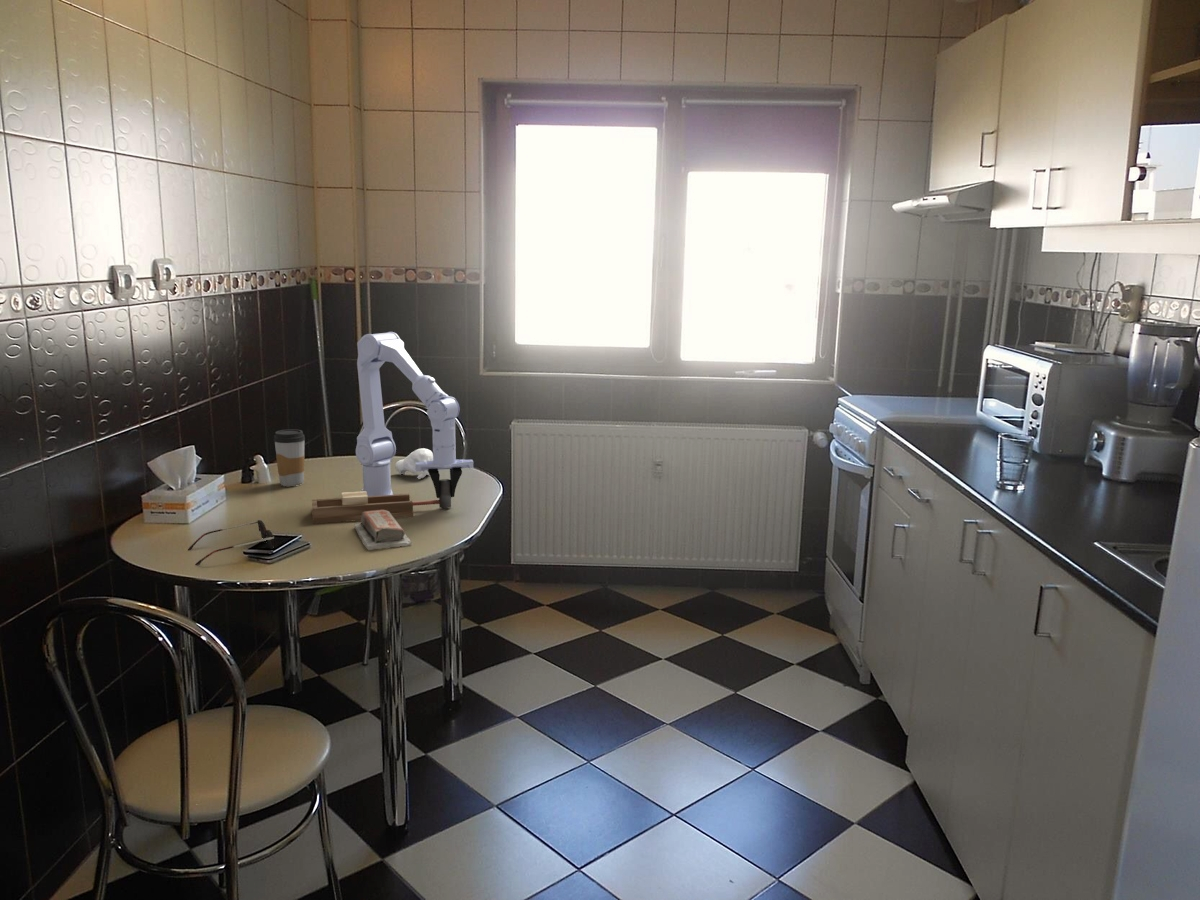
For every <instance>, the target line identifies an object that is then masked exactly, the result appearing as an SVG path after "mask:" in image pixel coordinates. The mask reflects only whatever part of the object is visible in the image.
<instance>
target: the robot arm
mask: <svg viewBox="0 0 1200 900" xmlns="http://www.w3.org/2000/svg"><path fill="white" fill-rule="evenodd" d="M356 346H357V354H358V355H357V361H356V366H357V367H356V368H357V375H358V377H357V378H358V384H359V385H358V386H359V394H360V395H359V396H360V404H361V413H362V414H361V415H362V423H363V424H362V425H363V429H362V431H361V432H360V433H359V434H357V435H358V436H356V446H355V447H356V448H355V457H356V459H357V460H358V462H359V463H360V465H361V466H362V480H363V481H362V484H363V486H362V487H363V488H362V489H360V492H361V491H366V492H367V496H380V495H394V493H393V490H392V483H391V481H392V480H391V478H392V477H391V463H392V461H393V460H392V459H393V458H394V457H395V456H396V454H397V453H396V452H397V451H396V450H397V447H396V443H395V440H394V439H393V433H392V431H391V430H389V429H388V428H387V427H386V424H385V415H384V406H383V405H384V403H383V396H382V386H381V374H380V368H381V367H382V366H383V364H385V362H389V363H392V364H394V366H396V368H397V369H398V370H399V371H400V372H401V373H402V374H403V375H404V376H405V377H406V378H407V379H408V380H409V381H410V382H411V383H412V387H411V389H412V391H413V393H414V394H415V395H416V397H418V399H419V400H420V401H421V403H423V405H424V406H425V408H427V410H426V414H427V415H426V416H427V417H428V419H429V420H430V427H431V428H432V453H433V461H426V462H417V463H415V468H416V471H417V472H418V473H419V472H421V471H422V472H423V471H424V470H428V473H429V475H428V476H430V478H431V481H432V484H433V487H434V490H435V497H436V499H439V498H440V489H439V480H440V478H441V477H440V472H439V470H442V471H443V470H449V478H450V479H449V480H451V498H454V497H455V493H456V489H457V486H458V484H459V483H458V482H459V480H460V478H461V476H462V474H463V470H462V469H471V470H472V469H474V460H473V459H457V457H456V455H457V454H456V449H457V448H456V443H457V442H456V419H457V418H458V416H459V414H460V410H461V408H460V404H459V402H458V400H457V398H455V397H453V396H451V395H450V396H449V395H448V394H447V393H446V392H445V391H443V389H441V387H440V386H439V385H438V384H437V382H436V379H435V378H434V377H432V376H431V375H425V374H423V372H422V371H421V370H420V368H419V367H418V365H417V364H416V362H415V361H414V360H413V359H412V357H411V356H410V354H409V353H408V352H407V350H406V349H405V342H404V341H403V340H402V339H401V338H400V336H399V335H398V334H397V333H396V332H395V331H394V332H393V331H388V332H382V333H380V332H379V333H373V334H372V333H367V334H363V336H361V338H360V339H359V340H358V341H357V343H356Z"/></svg>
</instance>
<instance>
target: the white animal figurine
mask: <svg viewBox="0 0 1200 900" xmlns="http://www.w3.org/2000/svg"><path fill="white" fill-rule="evenodd" d="M426 461H433V451H432V450H430V449H428V448H424V447H423V448H418V449H415V450H414V451H412V452H411V453H409V455H407V456H406V457H405V458H404V459H400V460H398V461H396V462H395V464H394V465H395V466H394V467H395V470H396V471H397V473H398V474H399V476H402V475H401V474H405V475H406V474H407V472H409V473H412V474H414V475H418V476H417V477H416V479H417V478H422V479H425V477H427V476H426V475H428V476H430V475H429V473H428V470H424V471H422V472H421V473H419V471H418V472H417V471H416V468H415V463H417V462H426ZM418 473H419V474H418Z"/></svg>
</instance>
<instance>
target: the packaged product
mask: <svg viewBox="0 0 1200 900" xmlns="http://www.w3.org/2000/svg"><path fill="white" fill-rule="evenodd" d="M360 521H361V522H360V523H359V522H356V523H354V524H353V526H354V530H355V531H356V532H357V534H358V535H357V536H358V537H359V539H360V538H361V539H360V541H361V540H362V541H361V543H362V544H363V543H364V544H363V545H364V547H365V548H366V550H367V549H368V550H367V551H374V550H373V549H378V550H382V549H381V548H386V549H391V548H390V547H395V548H401V547H400V546H402V547H408V546H407V545H411V546H412V541H411V539H410V538H409V537H408V536H407V533H405V530H404V529H403V528H402V526H401V525H400V523H399V522H398V521H397V520H396V518H394V517H393V516H392V514H391V513H390V512H389V511H386V510H374V511H365V512H362V518H361V520H360Z"/></svg>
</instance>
